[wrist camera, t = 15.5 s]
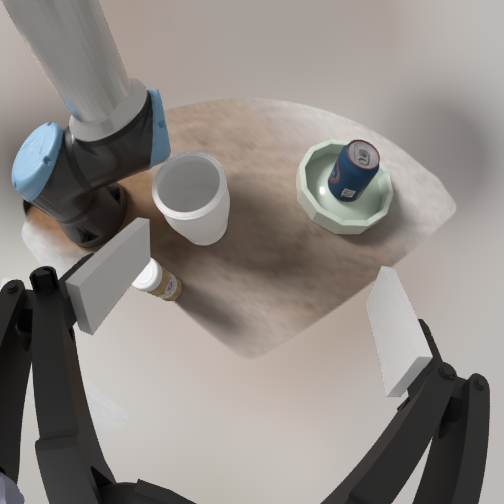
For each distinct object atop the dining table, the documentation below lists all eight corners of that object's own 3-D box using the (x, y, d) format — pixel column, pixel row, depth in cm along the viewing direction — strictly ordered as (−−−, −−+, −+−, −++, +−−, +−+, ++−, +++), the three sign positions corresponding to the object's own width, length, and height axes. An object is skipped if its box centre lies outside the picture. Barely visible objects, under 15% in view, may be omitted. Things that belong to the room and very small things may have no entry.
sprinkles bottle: (180, 303, 47) (155, 292, 34) (155, 299, 47) (123, 286, 34) (184, 276, 48) (161, 256, 35) (160, 273, 48) (130, 253, 35)
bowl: (280, 204, 52) (282, 193, 48) (318, 139, 56) (322, 126, 52) (365, 251, 49) (375, 244, 45) (392, 180, 54) (401, 169, 49)
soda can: (328, 169, 53) (344, 131, 41) (361, 179, 52) (383, 144, 41) (323, 199, 51) (340, 164, 40) (358, 209, 51) (382, 177, 39)
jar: (240, 241, 50) (236, 204, 35) (184, 259, 49) (158, 229, 35) (223, 190, 53) (215, 141, 38) (171, 207, 52) (146, 164, 37)
